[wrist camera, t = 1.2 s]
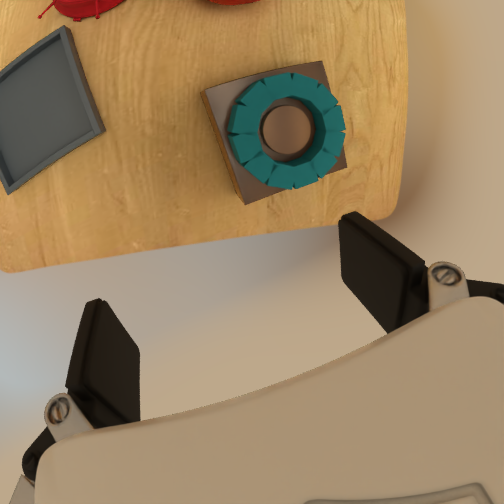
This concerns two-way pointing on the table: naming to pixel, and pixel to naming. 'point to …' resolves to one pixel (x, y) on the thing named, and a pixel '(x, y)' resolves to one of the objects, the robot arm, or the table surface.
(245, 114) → the ring
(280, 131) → the platform
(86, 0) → the alarm clock
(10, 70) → the tray
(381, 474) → the robot arm
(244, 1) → the apple
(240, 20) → the table surface
